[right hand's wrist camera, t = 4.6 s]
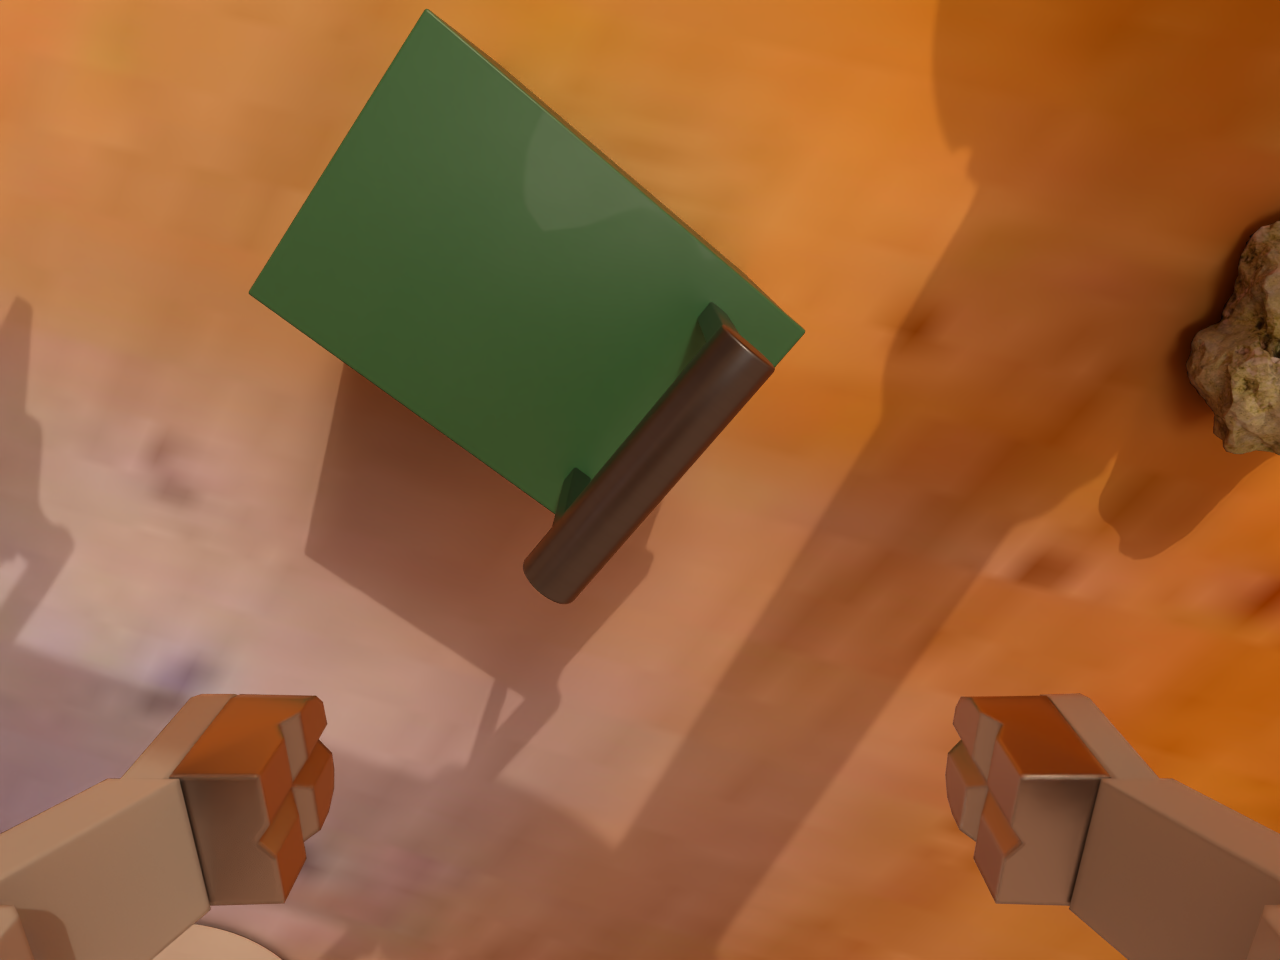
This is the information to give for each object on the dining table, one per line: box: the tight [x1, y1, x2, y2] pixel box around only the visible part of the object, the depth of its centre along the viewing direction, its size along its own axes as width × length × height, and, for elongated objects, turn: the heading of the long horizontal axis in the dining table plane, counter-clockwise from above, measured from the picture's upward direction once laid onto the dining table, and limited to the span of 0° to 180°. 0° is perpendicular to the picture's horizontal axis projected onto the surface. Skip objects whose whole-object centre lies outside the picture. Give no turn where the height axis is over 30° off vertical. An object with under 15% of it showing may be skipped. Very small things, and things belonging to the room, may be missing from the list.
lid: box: [249, 9, 805, 604], centre depth 22 cm, size 14×10×8 cm
